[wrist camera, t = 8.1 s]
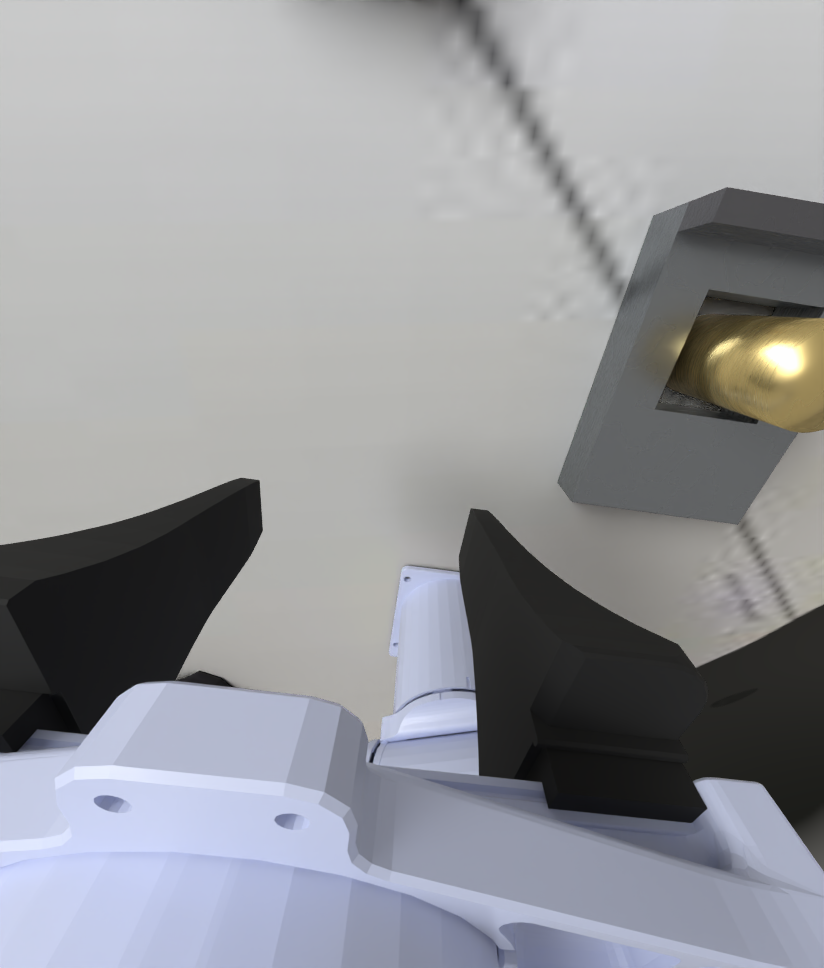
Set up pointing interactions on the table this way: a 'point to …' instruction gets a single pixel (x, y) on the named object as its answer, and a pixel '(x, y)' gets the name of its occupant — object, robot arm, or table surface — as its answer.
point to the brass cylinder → (756, 368)
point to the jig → (658, 342)
